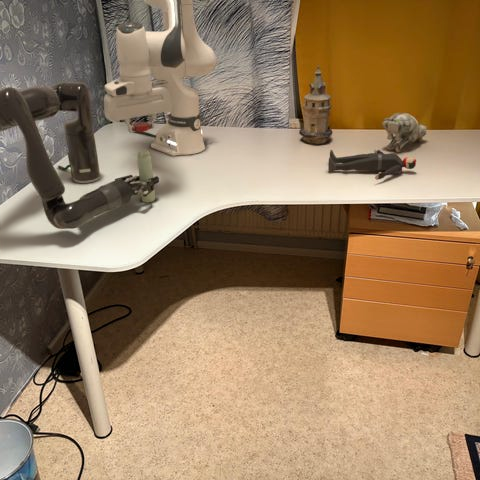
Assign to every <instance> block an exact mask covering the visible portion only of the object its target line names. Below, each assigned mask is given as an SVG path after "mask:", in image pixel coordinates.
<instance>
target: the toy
mask: <svg viewBox="0 0 480 480" xmlns="http://www.w3.org/2000/svg"><path fill="white" fill-rule="evenodd" d="M327 163H328V173H332V172H336V171H343V172H348V171H358V172H365V171H367V172H375V171H379V172H378V173H377V174H375V176H374V179H375V180H376V181H378V180H382V179H384V178H385V177H386V176H389V175H392V174H393V175H394V174H395V175H396V174H399V173H401V172H402V170H403V168H405V169H407V170H413V169H414V168H415V167H416V165H417V159H416V158H414V157H407V156H406V157H404V158H403V159H402V158H401V157H400V156H399V155H398V154H397V153H395V152H391V153H384V152H383V151H381V150H380V149H374V150H373V152H370V153H362V154H355V155H348V156H347V155H346V156H341V157H340V156H339V157H337V156H336V155H335V153H334V151H333V150H332V149H330V151H329V157H328V161H327ZM380 170H385V171H383V172H381V171H380Z"/></svg>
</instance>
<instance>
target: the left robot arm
mask: <svg viewBox="0 0 480 480" xmlns="http://www.w3.org/2000/svg"><path fill="white" fill-rule="evenodd" d="M91 101H92V100H91V93H90V89H89V86H88V85H87V84H86V83H85V82H80V81H79V82H77V81H75V82H73V81H72V82H71V81H61V82H58V83H55V84H53V85H50V86H46V85H38V86H32V87H27V88H24V89H22V90H18V89H17V88H15V87H12V86H6V87H4V88H2V89H0V132H4V131H7V130H10V129H11V128H15V127H18V128H19V130H20V132H21V133H22V136H23V139H24V144H25V169H26V174H27V176H28V179H29V181H30V183H31V184H32V186H33V189H35V191H36V194H38V196H39V198H40V201H41V205H42V209H43V211H44V214H45V217H46V219H47V220H48V222H49V223H50V224H51V226H53V227H54V228H55V229H59V230H73V229H77V228H80V227H82V226H84V225H85V224H87V223H88V222H90V221H92V219H94V218H95V217H97V216H100V215H102V214H104V213H106V212H110V211H112V210H115V209H117V208H119V207H121V206H123V205H125V204H127V203H130V201H131V199H132V198H133V196H137V195H140V194H143V196H144V197H145V196H147V195H149V194H150V193H151V192H152V191H153V190H154V191H155V185H157V184H159V183H160V177H159V176H158V175H156V176H153V178H151V179H149V180H146V181H143V180H140V178H139V175H133V174H129V175H125V176H121V177H116V178H114V180H113V181H111V182H108V183H105V184H103V185H100V186H99V187H98V188H96V189H94V190H91V191H89V192H87V193H85V194H83V195H81V196H80V197H79V199H77V200H74V201H72V202H68V203H67V202H66V201H65V199H64V196H63V195H64V193H65V192H66V187H65V185H64V183H63V181H62V179H61V177H60V175H59V173H58V172H57V170H56V168H55V167H54V165H53V163H52V161H51V159H50V156H49V154H48V152H47V149H46V147H45V144H44V142H43V138H42V136H41V133H40V130H39V128H38V126H37V123H36V122H37V121H43V120H46V119H50V118H52V117H54V116H56V115H57V114H58V113H59V112H77V117H76V118H73V119H70V120H68V121H66V122H65V123H64V125H63V128H64V135H65V139H66V144H67V151H68V152H67V159H68V164H67V165H66V166H65V167H63V166H62V165H57V168H58V169H60V170H62V171H67V170H68V169H69V170H70V175H71V178H72V180H73V182H75V183H78V184H90V183H94V182H97V181H99V180H100V179H101V177H102V176H101V171H100V163H99V158H98V151H97V144H96V139H95V138H96V137H95V132H94V120H93V118H94V117H93V111H92V102H91ZM146 183H147V185H146V186H145V184H146ZM141 187H142V188H141Z"/></svg>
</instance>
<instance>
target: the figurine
mask: <svg viewBox="0 0 480 480" xmlns="http://www.w3.org/2000/svg"><path fill="white" fill-rule="evenodd" d="M381 126H382V127H383V129H384V130H385V131H386V132H387V137H386V140H389V141H390V143H389V144H388V145H387V146H386V149H387V150H388V151H393V149H394V146H395V145H396V144H397V143H398V144H397V146H396V147H395V152H396V153H401V151H402V148H403V147H404V146H405V145H406V144H407V143H414V142H423V138H424V137H425V136H426V135H427V130H428V128H427V126H426V125H423V124H419V122H418V120H417V119H416V118H415V117H414V116H413V115H412V114H410V113H405V112H397V113H394V114H392V115H391V116H390V117H385V118H384V119H383V121H382V122H381Z"/></svg>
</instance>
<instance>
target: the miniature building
mask: <svg viewBox="0 0 480 480" xmlns="http://www.w3.org/2000/svg"><path fill="white" fill-rule="evenodd" d="M320 67H321V66H320V65H317V66H316V68H317V69H316V71H315V72H314V75H315V76H314V79H313V81H312V83H310V84H309V85H308V86H309V93H307V94H306V95H304V96H303V97H302V98H303V105H301V106H302V109H303V114H302V115H303V124H302V127H300V129H299V132H298V134H299V136H300V137H302V139H303V141H305V142H307V143H309V144H314V145H320V144H321V145H322V144H325V143H326V142H327V141H328V140H329V139H330V137H332V135H333V129H331V125H329V120H330V115H331V108H332V106H333V105H332V104H331V98H332V96H331V95H330V94H328V93H326V81H324V82H323V78H322V71H321V70H320Z"/></svg>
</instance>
